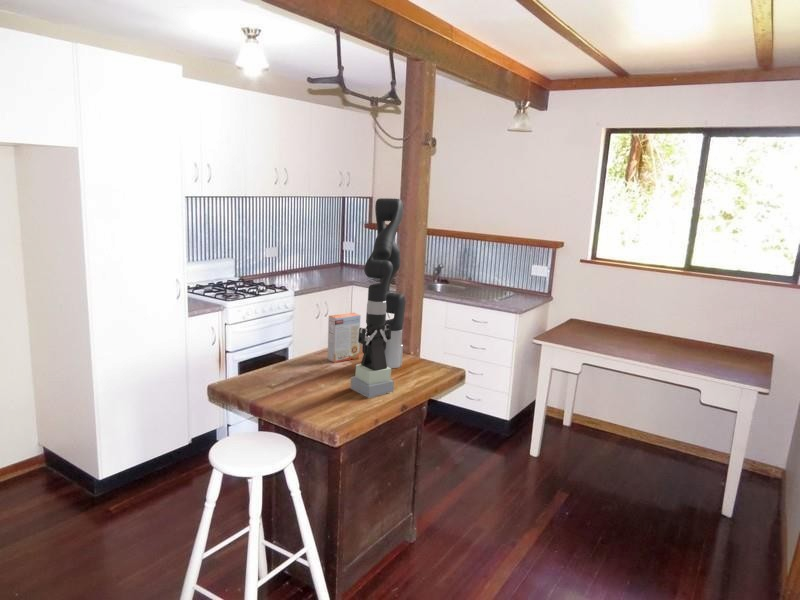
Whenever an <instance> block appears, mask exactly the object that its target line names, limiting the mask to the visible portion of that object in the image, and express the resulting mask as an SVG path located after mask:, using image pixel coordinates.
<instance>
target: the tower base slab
mask: <svg viewBox="0 0 800 600" xmlns="http://www.w3.org/2000/svg"><path fill="white" fill-rule="evenodd" d="M394 383H395V381H394V380H392V379H391V381H387V382H382V383H377V384H371V385H368V384H367V383H365V382H363V381H362V380H360V379H358V378H356V377H355V376H351V377H350V389H351V390H352V391H354V392H356V393H358V394H360V395H362V396H364V397H366V398H368V399H371V398H375V397H380V396H383V394H384V395H387V394H386V393H388V394H391V393H390V392H392V393H394V388H395V387H394ZM379 395H380V396H379Z"/></svg>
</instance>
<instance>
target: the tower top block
mask: <svg viewBox="0 0 800 600" xmlns="http://www.w3.org/2000/svg"><path fill="white" fill-rule="evenodd" d="M354 377H356V378H358V379H360V380H362V381H363V382H365V383H367V384H368V385H371V384H377V383H382V382H387V381H391V380H392V368H389V367H387V368H386V369H381V370H376V371H374V370H372V369H369V368H367V367H365V366H363V365H361V363H359V364H358V363H357V364H356V365H355V375H354Z"/></svg>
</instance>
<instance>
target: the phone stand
mask: <svg viewBox="0 0 800 600" xmlns="http://www.w3.org/2000/svg"><path fill="white" fill-rule="evenodd" d="M383 343H384V339H383V338H382V337H376V338H373V339H372V340H371V341H370V342H369V343H368V354H364V353H363V356H362V359H361V362H360V364H361V365H363V366H365V367H367V368H369V369H372V370H374V371H376V370H381V369H386V368H387V364H386V358H385V351H384V345H383Z"/></svg>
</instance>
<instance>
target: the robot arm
mask: <svg viewBox="0 0 800 600" xmlns="http://www.w3.org/2000/svg"><path fill="white" fill-rule="evenodd" d="M374 208H375V212H374V213H375V221H376V222H375V223H376V230H377V235H376V237H375V240H374V245H373V250H372V252H371V254H370V256H369V257H368V258H367V260H366V262H365V264H364V267H363V268H364V275H366V277H367V278H369V279H371V278H372V279H379V283H373V284H370V285H369V286H368V289H367V291H368V292H367V302H366V314H365V315H366V316H365V323H366V327H360V329H359V338H358V342H359V344H361V345H362V354H363V355H364V354H368V343H369V342H370V341H371V340H372V339H373V338H376V337H382V338H383V339H384V343H383V345H384V351H385V358H386V364H387V367H389V368H391V369H398V368H400V367H402V366H403V353H404V352H403V351H404V345H403V343H402V341H403V328H404V327H403V325H404V321H405V311H406V302H407V301H406V296H405V295H404V294H403V293H398V292H391V291H390V286H391V282H392V280H393V278H395V276H396V274H397V273H398V271H399V270H400V267H401V250H400V248H399V245H398V243H397V242H396V241H395V238H396V235H397V232H398V230H399V227H400V224H401V221H402V219H403V213H404V204H403V201H402V200H401V199H400V198H391V197H390V198H387V197H386V198H382V197H381V198H378V199H376V201H375V207H374ZM386 222H389V223H388V224H387V223H386ZM387 314H391V315H392V314H393V318H391V319H387Z"/></svg>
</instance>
